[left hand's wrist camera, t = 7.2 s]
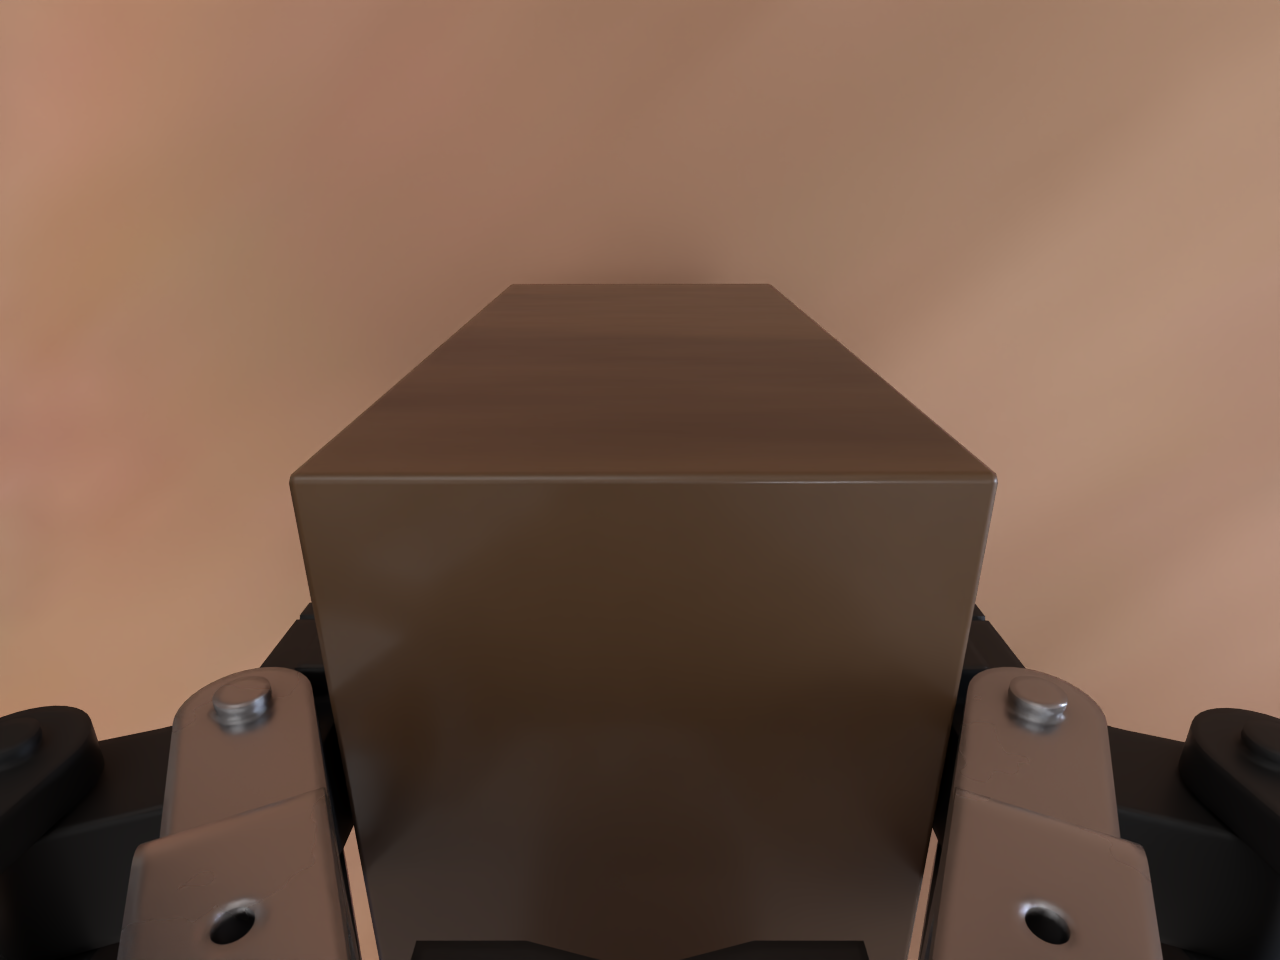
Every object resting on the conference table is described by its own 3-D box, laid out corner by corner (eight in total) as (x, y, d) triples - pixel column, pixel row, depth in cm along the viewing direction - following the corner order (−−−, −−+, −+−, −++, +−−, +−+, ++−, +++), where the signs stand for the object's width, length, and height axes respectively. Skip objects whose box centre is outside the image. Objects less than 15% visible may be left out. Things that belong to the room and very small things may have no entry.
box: (509, 283, 18) (283, 475, 6) (771, 283, 18) (1003, 474, 6) (555, 988, 27) (494, 1577, 15) (728, 987, 27) (791, 1575, 15)
